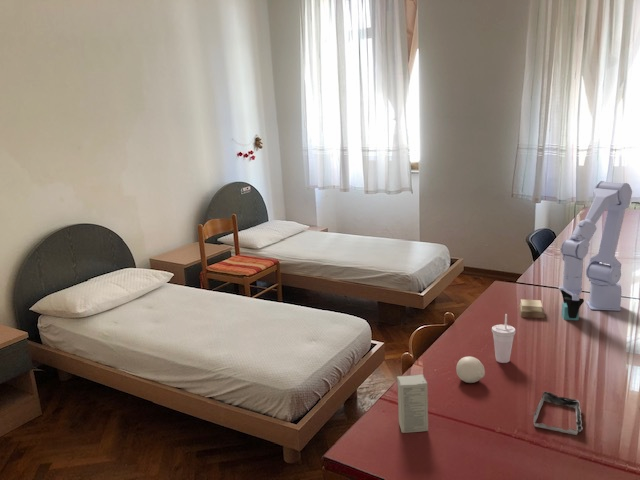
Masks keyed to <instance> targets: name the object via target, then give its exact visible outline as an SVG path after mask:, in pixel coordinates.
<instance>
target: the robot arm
mask: <svg viewBox="0 0 640 480" xmlns="http://www.w3.org/2000/svg"><path fill="white" fill-rule="evenodd" d="M632 194H633V190H632V187H631V185H630V184H629V183H627V182H613V181H603V180H601V181H598V182H597V183H596V185H595V187H594V190H593V201H592V203H591V205H590V208H589V210H588V211H587V214H586V216H585V218H584V219H583V220H580V221H578V223H577V225H576V226H575V228H574V230H573V232H572V234H570V237H569V238H568V239H565V240H564V241H563V242H562V244H561V248H560V253H561V255H562V256H561V257H562V261H563V271H562V273H563V275H562V276H563V277H562V286H558V290H560V291H559V292H560V293H561V296H562V299H563V302H562V303H567V307H568V315H569V318H576V317H577V314H578V311H579V312H580V309H581V306H582V305H583V303H584V301H585V299H584V298H580V295H581V293H582V292H583V288H582V286H583V285H582V284H583V269H584V259H585V257H587V255H588V253H589V247H590V242H591V240H592V238H593V236H594V234H595V232H596V231H597V225H596V224H597V222H598V221H599V220H600V218H601V216H602V215H603V214H604V213H605V211H606V210H607V212H606V217H605V222H604V226H603V230H602V236H601V240H600V245H599V249H598V252H597V254H595V255H594V256H592V257H590V258H589V262H588V264H587V265H586V268H585V276H586V278H587V279H588V282H590V287H589V299H588V300H586V301H585V303H586V304H587V306H588V307H589V309H590V310H593V311H594V310H597V311H617V312H618V311H619V312H620V311H621V310H622V309H621V302H622V285H621V284H620V283H619V281H620V280H621V276H622V263H621V262H620V260H618V258H617V257H616V251H617V249H618V248H617V247H618V244H619V239H620V235H621V232H622V226H623V222H624V217H625V212H626V209H629V207H630V204H631V203H630V202H631V200H632V199H631V198H632Z"/></svg>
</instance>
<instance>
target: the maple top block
mask: <svg viewBox="0 0 640 480" xmlns="http://www.w3.org/2000/svg"><path fill="white" fill-rule="evenodd" d="M520 304H521V310H522V311H527V312H542V307H543V304H542V300H540V299H538V300H537V299H524V298H523V299H521V298H520Z"/></svg>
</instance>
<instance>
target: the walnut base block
mask: <svg viewBox="0 0 640 480" xmlns="http://www.w3.org/2000/svg"><path fill="white" fill-rule="evenodd" d="M518 310H519V311H518V312H519V315H520V318H530V319H531V318H533V319H535V318H536V319H545V317H546V312H545V310H544V308H543V306H542V312H527V311H522V310H521V303H520V304H518Z"/></svg>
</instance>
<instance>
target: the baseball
mask: <svg viewBox="0 0 640 480" xmlns="http://www.w3.org/2000/svg"><path fill="white" fill-rule="evenodd" d="M455 368H456V369H455V370H456V375H457V376H458V378H459V379H460V380H461V381H463V383H464V382H465V383H467V384H472V383H474V384H475V383H476V382H478V381H480V380H482V379H483V378H484V377H485V375H486V374H485V373H486V370H485V366H484V364H483V363H482V362H481V361H480V360H479V359H478V358H477V357H474V356H470V355H469V356H464V357H462V358H460V359H459V360H458V361H457V364H456V367H455Z"/></svg>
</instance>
